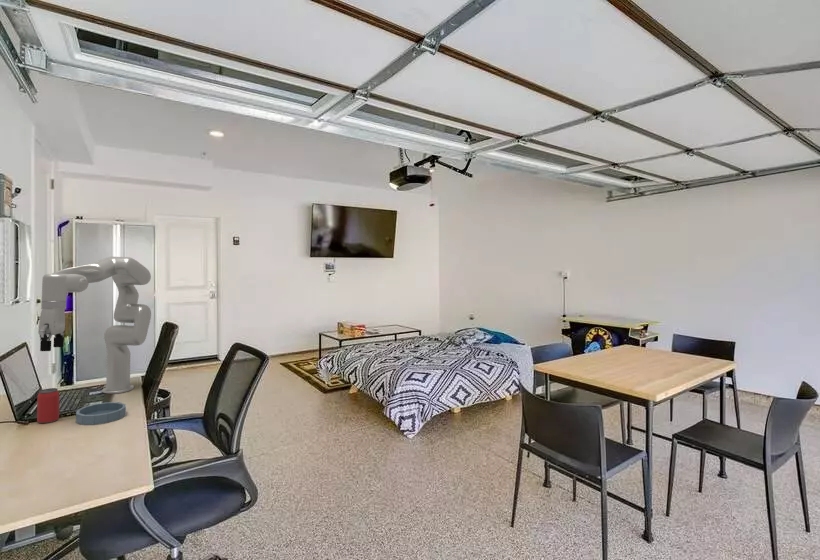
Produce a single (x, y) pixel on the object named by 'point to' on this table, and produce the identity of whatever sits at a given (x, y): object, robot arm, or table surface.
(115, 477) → the table surface
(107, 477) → the table surface
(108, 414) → the bowl
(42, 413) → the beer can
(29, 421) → the table surface
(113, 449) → the table surface
